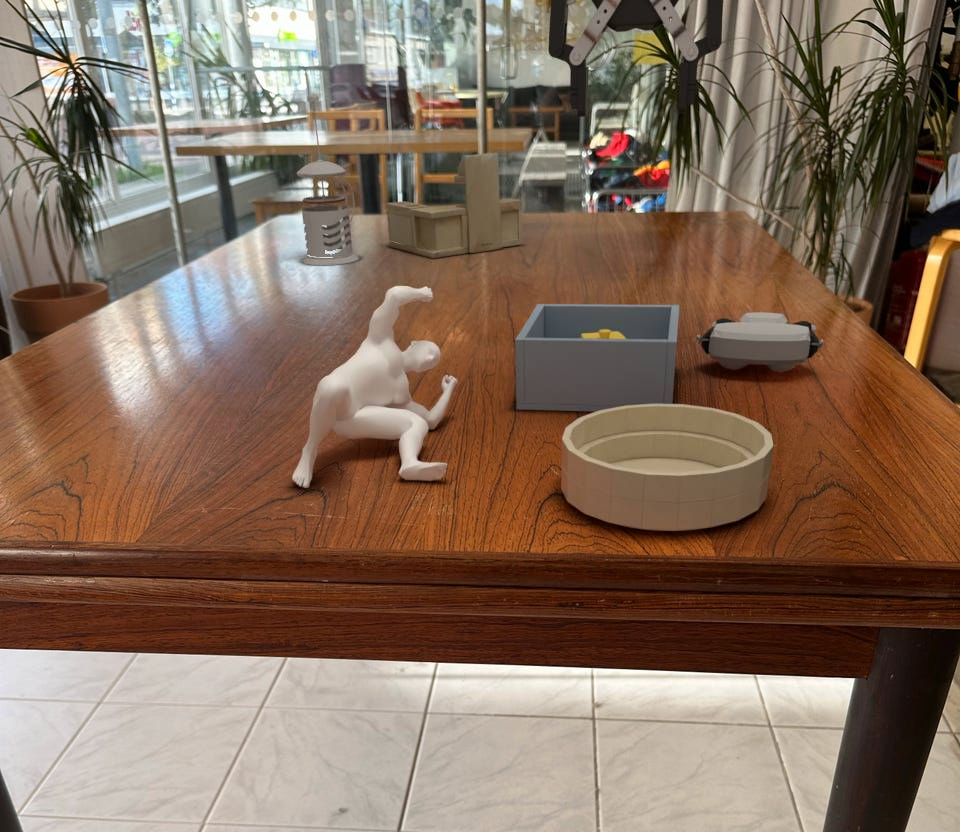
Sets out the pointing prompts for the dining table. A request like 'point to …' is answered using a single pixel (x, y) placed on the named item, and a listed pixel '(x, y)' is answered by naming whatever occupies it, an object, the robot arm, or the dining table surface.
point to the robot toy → (760, 341)
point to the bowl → (666, 466)
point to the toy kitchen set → (460, 216)
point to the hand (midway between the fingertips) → (631, 114)
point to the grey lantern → (326, 215)
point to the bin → (596, 357)
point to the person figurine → (380, 394)
